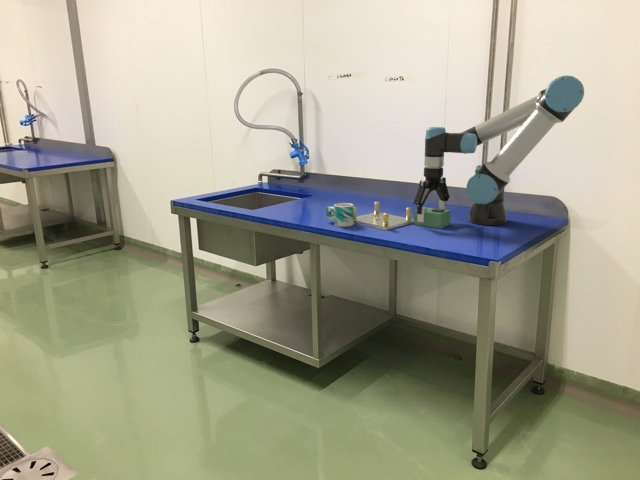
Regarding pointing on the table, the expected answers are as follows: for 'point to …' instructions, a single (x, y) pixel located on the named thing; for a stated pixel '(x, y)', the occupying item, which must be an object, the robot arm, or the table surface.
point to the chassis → (382, 219)
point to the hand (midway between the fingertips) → (431, 219)
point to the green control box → (434, 218)
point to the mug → (341, 214)
